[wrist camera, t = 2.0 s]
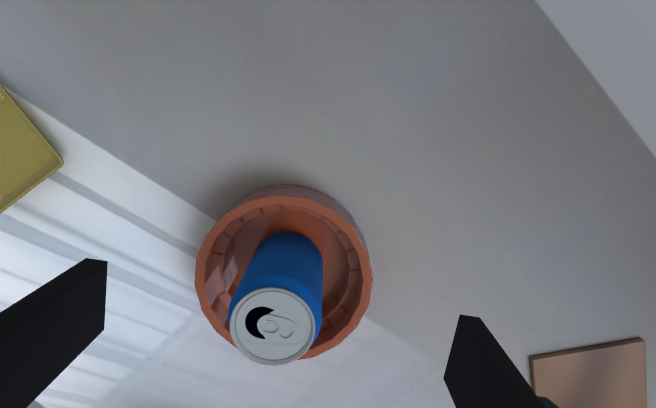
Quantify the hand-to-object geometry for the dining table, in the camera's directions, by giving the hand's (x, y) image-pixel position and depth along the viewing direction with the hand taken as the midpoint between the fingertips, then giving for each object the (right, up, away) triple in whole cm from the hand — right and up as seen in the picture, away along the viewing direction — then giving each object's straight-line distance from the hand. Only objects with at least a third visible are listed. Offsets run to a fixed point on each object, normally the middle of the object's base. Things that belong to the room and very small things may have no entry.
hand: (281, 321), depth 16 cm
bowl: (-2, -1, +24) cm, 24 cm away
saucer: (-26, +9, +22) cm, 36 cm away
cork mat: (+28, -15, +28) cm, 42 cm away
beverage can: (-2, -1, +24) cm, 24 cm away
